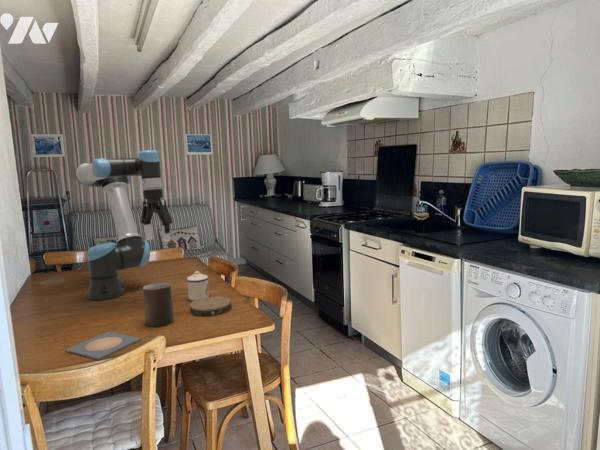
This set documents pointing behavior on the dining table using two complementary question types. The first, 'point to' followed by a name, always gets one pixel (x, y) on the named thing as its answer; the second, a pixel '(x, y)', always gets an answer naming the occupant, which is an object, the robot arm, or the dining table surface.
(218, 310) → the wood log slice
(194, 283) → the teacup with lid
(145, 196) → the robot arm
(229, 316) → the dining table surface
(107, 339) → the mat
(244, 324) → the dining table surface
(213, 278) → the dining table surface
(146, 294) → the pillar candle
